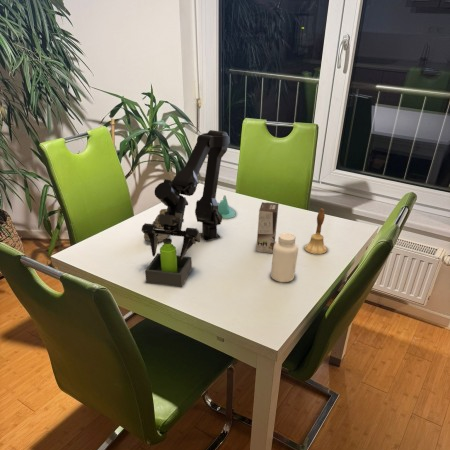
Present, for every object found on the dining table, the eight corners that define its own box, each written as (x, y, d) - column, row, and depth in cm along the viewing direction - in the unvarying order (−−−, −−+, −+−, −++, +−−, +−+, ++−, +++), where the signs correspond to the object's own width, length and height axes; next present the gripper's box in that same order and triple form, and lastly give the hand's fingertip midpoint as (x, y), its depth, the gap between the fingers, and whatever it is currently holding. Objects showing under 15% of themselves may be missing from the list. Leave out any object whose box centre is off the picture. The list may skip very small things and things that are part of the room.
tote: (158, 264, 144) (157, 253, 141) (191, 268, 142) (191, 257, 140) (146, 282, 134) (144, 270, 132) (181, 286, 132) (181, 274, 130)
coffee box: (272, 253, 152) (276, 212, 143) (255, 251, 153) (258, 210, 144) (275, 242, 160) (279, 202, 151) (259, 241, 161) (261, 201, 152)
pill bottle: (288, 285, 134) (293, 243, 126) (266, 278, 137) (270, 237, 129) (298, 274, 140) (303, 234, 131) (276, 268, 143) (280, 228, 135)
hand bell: (306, 242, 160) (312, 203, 151) (328, 246, 158) (335, 206, 149) (302, 252, 154) (308, 211, 145) (325, 255, 151) (332, 215, 142)
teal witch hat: (220, 201, 196) (220, 183, 191) (242, 216, 181) (243, 197, 176) (197, 205, 191) (197, 187, 186) (217, 221, 176) (218, 201, 171)
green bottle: (159, 272, 139) (156, 238, 132) (173, 268, 141) (171, 235, 134) (165, 279, 135) (162, 245, 128) (179, 275, 137) (178, 241, 130)
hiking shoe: (134, 236, 157) (146, 212, 150) (161, 222, 174) (174, 199, 167) (152, 252, 157) (166, 228, 150) (178, 235, 174) (191, 214, 167)
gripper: (140, 199, 129) (130, 246, 126) (197, 204, 126) (189, 253, 123) (151, 213, 140) (142, 257, 137) (204, 218, 137) (196, 263, 134)
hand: (166, 257), depth 133 cm, fingers open, 9 cm apart
